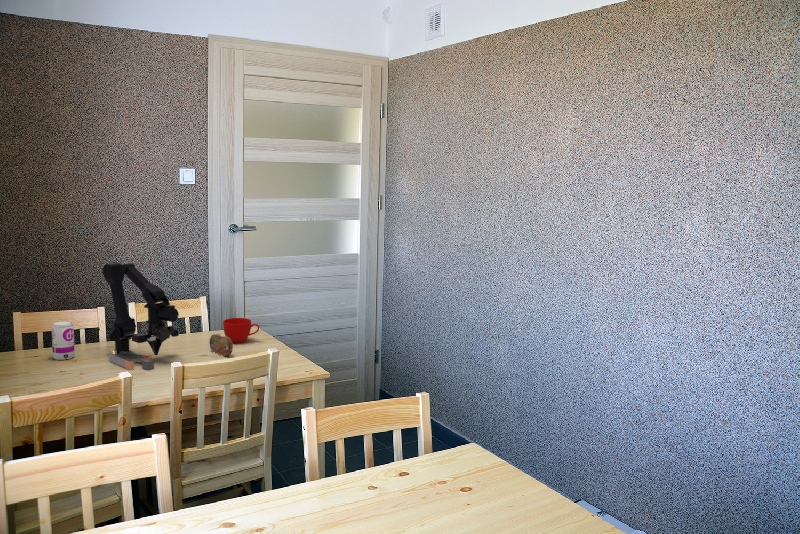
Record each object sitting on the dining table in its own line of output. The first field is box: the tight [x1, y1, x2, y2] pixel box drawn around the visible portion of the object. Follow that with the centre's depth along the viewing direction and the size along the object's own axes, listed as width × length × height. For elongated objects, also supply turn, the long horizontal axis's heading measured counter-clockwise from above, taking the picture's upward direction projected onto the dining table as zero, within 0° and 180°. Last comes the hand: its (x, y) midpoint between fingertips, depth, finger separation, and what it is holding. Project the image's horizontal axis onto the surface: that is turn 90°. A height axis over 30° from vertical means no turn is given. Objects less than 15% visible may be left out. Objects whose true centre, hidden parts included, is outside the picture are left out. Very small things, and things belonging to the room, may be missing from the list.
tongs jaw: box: [119, 351, 153, 364], centre depth 282 cm, size 14×2×3 cm, turn 75°
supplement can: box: [51, 320, 76, 361], centre depth 283 cm, size 8×8×15 cm
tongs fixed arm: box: [109, 349, 135, 371], centre depth 278 cm, size 18×3×4 cm, turn 50°
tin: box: [209, 333, 234, 357], centre depth 298 cm, size 15×3×8 cm, turn 47°
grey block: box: [141, 359, 155, 371], centre depth 273 cm, size 4×3×3 cm
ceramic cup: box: [222, 317, 260, 344], centre depth 319 cm, size 13×17×10 cm
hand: (156, 354), depth 286 cm, fingers closed
